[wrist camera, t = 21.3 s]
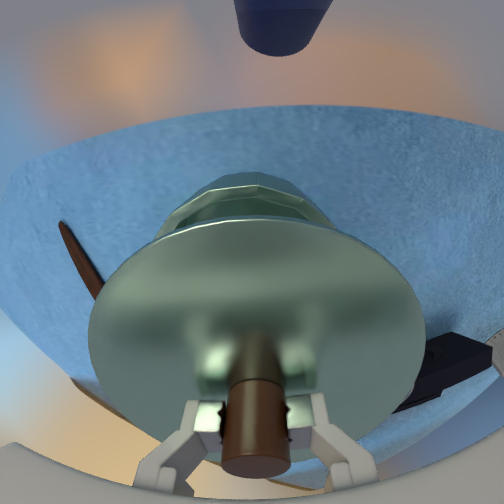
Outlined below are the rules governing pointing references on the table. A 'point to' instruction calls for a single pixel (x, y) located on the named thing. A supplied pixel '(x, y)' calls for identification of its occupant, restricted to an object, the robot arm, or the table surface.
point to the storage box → (447, 366)
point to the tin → (244, 201)
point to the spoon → (81, 262)
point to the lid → (256, 333)
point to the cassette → (497, 351)
